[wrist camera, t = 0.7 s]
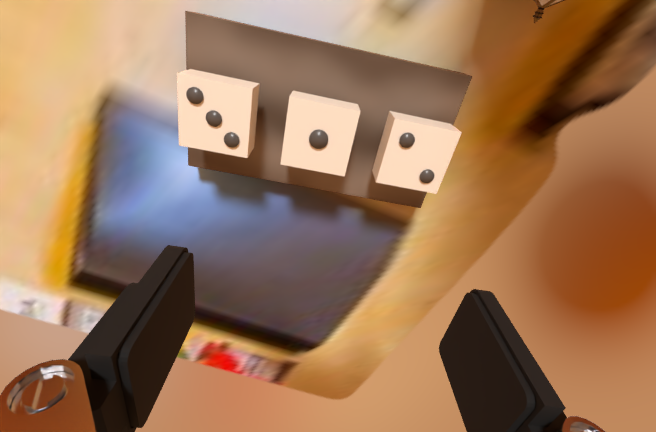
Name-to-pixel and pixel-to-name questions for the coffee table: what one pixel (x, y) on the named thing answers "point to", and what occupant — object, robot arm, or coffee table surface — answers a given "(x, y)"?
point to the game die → (543, 2)
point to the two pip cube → (414, 152)
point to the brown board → (322, 80)
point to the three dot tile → (217, 112)
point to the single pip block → (319, 133)
